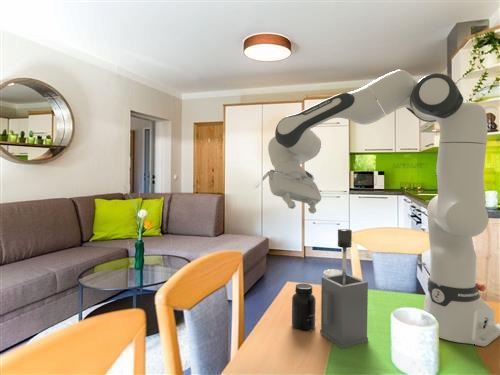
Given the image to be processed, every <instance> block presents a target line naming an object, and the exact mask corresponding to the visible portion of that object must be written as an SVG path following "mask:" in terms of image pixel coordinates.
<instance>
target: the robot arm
mask: <svg viewBox="0 0 500 375" xmlns="http://www.w3.org/2000/svg"><path fill="white" fill-rule="evenodd" d="M402 108H406V109H407V110H408V111H409V112H410V113H412V114H413V116H415V117H416V118H417V119H418V120H421V121H423V122H426V123H429V122H430V123H433V122H437V123H438V125H439V130H440V134H439V141H438V142H439V143H438V149H437V150H438V151H437V159H436V160H437V161H436V167H435V168H436V170H435V172H436V173H435V174H436V179H437V195H435V196H434V197H433V198H431V199H430V201H429V202H428V205H427V209H426V211H427V228H428V239H429V248H430V249H429V252H430V253H429V254H430V256H429V257H430V258H429V259H430V260H429V261H430V262H429V277H428V279H427V284H426V285H427V293H425V297H424V302H423V303H424V305H423V310H424V311H426V312H428V313H430V314H432V315H433V316H434V317H435V318H436V320H437V321H438V323H439V337H438V338H440V339H443V340H446V341H450V342H455V343H460V344H461V343H463V344H471V345H474V344H475V346H480V347H487V346H488V345H489V344H491V343H492V342H493V341H494V340H496V339H498V337H500V323H499V322H496V321H495V310H494V309H493V307H492V306H491V305H489V304H488V303H487V302H486V301H485V300H483V299H482V298H481V295H480V292H485V290H486V285H485V284H483V283H479V282H476V281H477V261H478V260H477V258H478V257H477V254H476V250H475V247H474V246H475V245H474V240H473V238H474V237H476V236H479V235H481V234H482V233H483V232H485V230H486V228H487V227H488V225H489V213H488V210H487V207H486V193H485V180H484V178H485V177H484V171H485V162H486V153H487V144H488V116H487V112H486V109H485V108H484V106H482V105H480V104H478V103H474V102H465V101H464V97H463V95H462V93H461V91H460V90H459V87H458V86H457V84H456V83H455V81H454V80H453V79H452V78H451V77H450V76H449V75H447V74H444V73H439V72H437V73H436V72H435V73H431V74H430V73H429V74H427V75H425V76H424V77H422V78H420V79H419V80H418V81H417V80H415V78H414V77H413V76H412V74H411V73H409V71H406V70H403V69H397V70H395V71H391V72H389V73H386V74H384V75H383V76H380V77H378V78H377V79H374V80H373V81H372V82H370V83H368V84H367V85H365V86H362V87H361V88H358V89H355V90H354V91H353V90H352V91H350V92H340V93H338V94H335V95H333V96H330V97H329V98H326V99H325V100H323V101H320V102H318V103H316V104H314V105H312V106H309V107H308V108H306V109H304V110H302V111H300V112H296V113H294V114H290V115H287V116H285V117H283V118H281V120H279V122H278V123H277V125H276V126H275V133H274V136H273V137H272V138H271V139H270V141H269V142H268V146H267V148H268V149H267V151H268V157H269V159H270V160H269V161H270V163H271V164H272V166H273V168H274V169H270V170H268V171H267V176H268V183H269V189H270V192H271V194H272V195H273V196H276V197H280V198H282V200H283V201H284V202H285V203H286V204H287V206H288V209H292V210H293V209H295V208H296V203H295V201H296V202H300V203H303V204H304V203H305V204H307V205H308V206H309V208H308V209H307V210H308V212H309V213H310V214H313V215H314V214H315V213H316V212H317V209H316V205H318V204H319V202H321V201H322V195H321V192H320V189H319V188H318V185H317V183H316V182H315V181H314V180H315V176H314V175H313V174H311V172H308V171H307V170H306V169H305V168H303V167H302V166H301V164H304V163H306V162H308V161H310V160H312V159H314V158H315V157H317V155H318V154H319V153H320V151H321V148H322V142H321V139H320V138H319V137H318V136H317V134H316V133H314V131H313V130H312V129H313V128H315V127H317V126H320V125H322V124H323V123H326V122H328V121H330V120H332V119H339V118H340V119H345V120H348V121H351V122H352V123H355V124H359V125H364V126H365V125H370V124H373V123H375V122H378V121H380V120H381V119H383V118H385V117H387V116H388V115H390V114H392V113H393V112H395V111H397V110H400V109H402Z"/></svg>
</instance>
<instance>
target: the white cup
mask: <svg viewBox="0 0 500 375" xmlns="http://www.w3.org/2000/svg"><path fill="white" fill-rule="evenodd" d="M337 274H342V270H341V269H336V268H335V269H332V268H331V269H325V270H324V271H323V277H326V276H331V275H337Z"/></svg>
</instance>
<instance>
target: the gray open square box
mask: <svg viewBox="0 0 500 375" xmlns="http://www.w3.org/2000/svg"><path fill="white" fill-rule="evenodd" d="M346 284H347V285H342V274H337V275H331V276H326V277H324V276H321V286H320V288H321V290H320V291H321V298H320V299H321V301H320V302H321V303H320V308H321V310H320V320H321V321H320V322H321V323H320V329H319V333H320V334H321V335H322V336H324V337H325V338H326V339H328V340H329V341H330V342H332V343H333V344H334V345H335V346H337V347H338V348H339V349H340V350H341V349H342V350H343V349H345V348H349V347H352V346H355V345H359V344H362V343H365V342H366V343H367V342H368V341H369V337H368V304H369V303H368V301H369V300H368V298H369V296H368V295H369V283H368V281H366V280H365V279H364V280H363V279H362V278H359V277H356V276H355V275H351V274H349V273H347V272H346Z"/></svg>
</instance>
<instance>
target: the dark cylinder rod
mask: <svg viewBox="0 0 500 375" xmlns="http://www.w3.org/2000/svg"><path fill="white" fill-rule="evenodd" d="M352 232H353V230H352V229H348V228H339V229H337V247H339V248H342V264H341V265H342V268H341V269H342V285H347V284H346V273H347V250H348V249H350V248H352V246H353V245H352V243H353V242H352V240H353V239H352V237H353V233H352Z"/></svg>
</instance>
